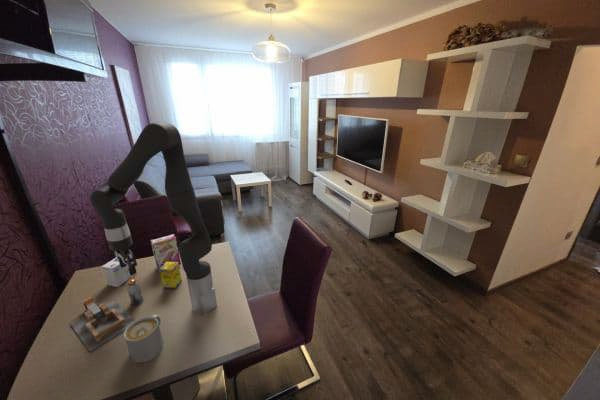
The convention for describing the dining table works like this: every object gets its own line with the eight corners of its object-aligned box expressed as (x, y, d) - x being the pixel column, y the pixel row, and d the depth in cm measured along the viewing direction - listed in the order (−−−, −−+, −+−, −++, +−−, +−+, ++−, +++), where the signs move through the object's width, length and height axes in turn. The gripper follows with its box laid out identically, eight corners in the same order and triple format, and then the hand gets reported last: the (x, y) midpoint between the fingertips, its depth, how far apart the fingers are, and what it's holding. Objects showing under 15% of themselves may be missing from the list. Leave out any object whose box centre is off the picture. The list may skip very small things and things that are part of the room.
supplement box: (176, 288, 115) (172, 269, 111) (163, 288, 115) (159, 269, 111) (182, 280, 121) (178, 261, 117) (170, 280, 121) (166, 261, 117)
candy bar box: (158, 272, 127) (151, 244, 121) (156, 267, 130) (149, 240, 124) (181, 263, 133) (176, 237, 127) (178, 259, 137) (173, 233, 131)
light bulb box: (126, 271, 127) (121, 253, 123) (137, 273, 125) (132, 255, 121) (106, 285, 117) (100, 266, 113) (118, 287, 116) (111, 268, 112)
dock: (136, 322, 97) (134, 314, 96) (90, 352, 86) (86, 342, 84) (114, 301, 108) (111, 293, 106) (70, 324, 96) (66, 316, 94)
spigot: (145, 300, 108) (139, 279, 104) (134, 307, 105) (127, 285, 100) (140, 296, 110) (134, 275, 106) (129, 302, 107) (123, 281, 103)
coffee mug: (148, 365, 81) (141, 343, 78) (123, 358, 83) (116, 337, 80) (176, 331, 93) (171, 311, 90) (154, 326, 96) (148, 306, 92)
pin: (104, 315, 99) (101, 307, 98) (94, 320, 97) (91, 312, 95) (94, 303, 105) (91, 296, 103) (84, 308, 102) (81, 300, 101)
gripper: (137, 237, 95) (146, 271, 101) (121, 227, 102) (130, 260, 108) (115, 245, 89) (126, 282, 95) (99, 234, 97) (110, 268, 102)
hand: (128, 270), depth 102 cm, fingers open, 8 cm apart
